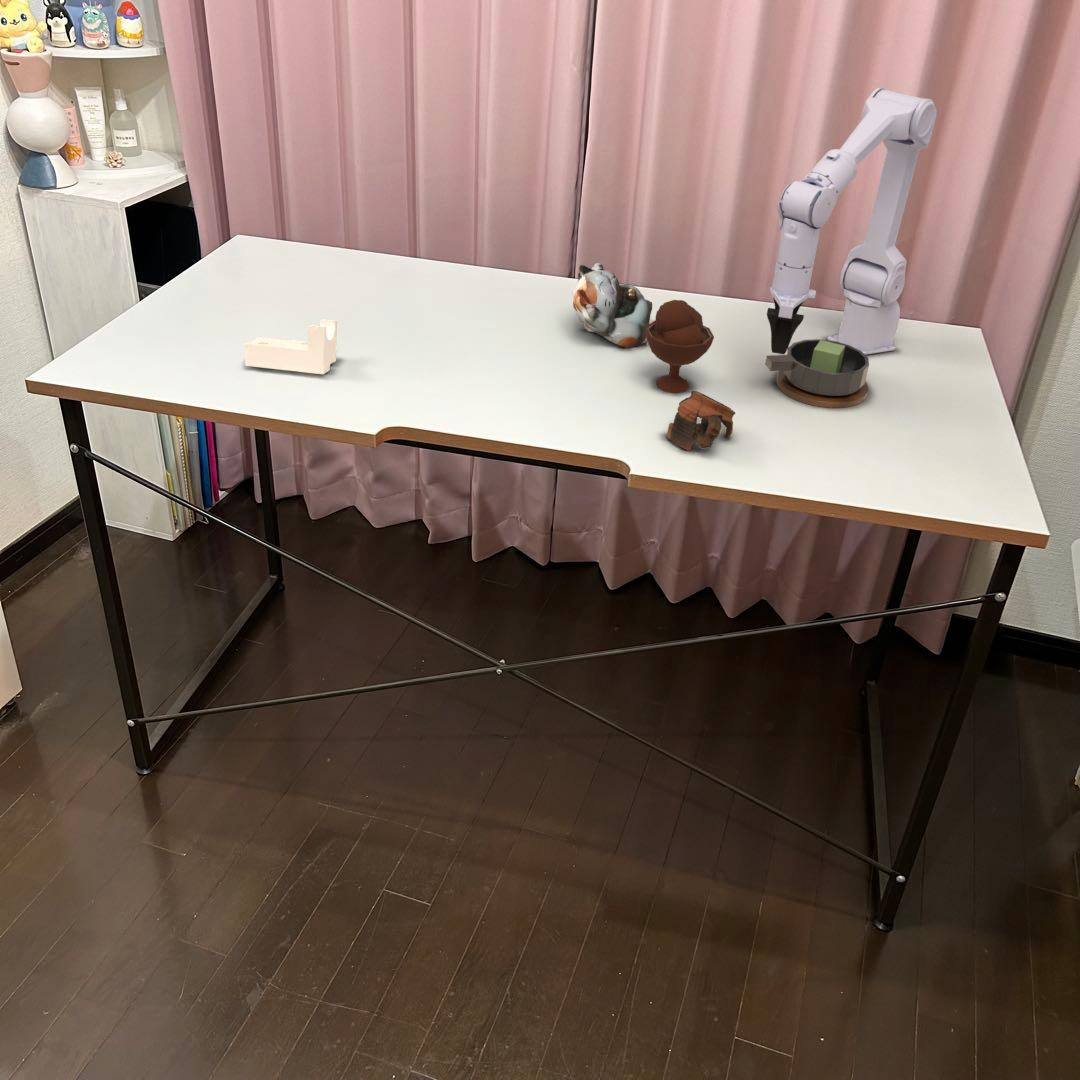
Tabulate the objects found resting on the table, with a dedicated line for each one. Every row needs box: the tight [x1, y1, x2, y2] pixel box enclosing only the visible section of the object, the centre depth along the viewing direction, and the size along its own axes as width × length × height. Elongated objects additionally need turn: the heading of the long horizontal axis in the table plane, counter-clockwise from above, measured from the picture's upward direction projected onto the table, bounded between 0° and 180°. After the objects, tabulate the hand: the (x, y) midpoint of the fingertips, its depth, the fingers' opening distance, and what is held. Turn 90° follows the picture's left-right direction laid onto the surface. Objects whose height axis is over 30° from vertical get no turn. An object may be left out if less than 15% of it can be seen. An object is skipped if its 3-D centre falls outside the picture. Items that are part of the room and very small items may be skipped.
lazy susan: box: [776, 371, 869, 409], centre depth 190 cm, size 15×15×1 cm
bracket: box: [244, 318, 338, 375], centre depth 185 cm, size 13×7×8 cm, turn 82°
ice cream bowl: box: [645, 299, 715, 394], centre depth 183 cm, size 11×11×15 cm
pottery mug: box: [666, 390, 736, 452], centre depth 171 cm, size 12×10×8 cm
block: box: [810, 339, 845, 373], centre depth 187 cm, size 4×4×5 cm
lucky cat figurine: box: [571, 262, 653, 349], centre depth 200 cm, size 15×12×14 cm
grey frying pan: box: [764, 338, 870, 396], centre depth 188 cm, size 17×13×4 cm
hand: (780, 343), depth 183 cm, fingers open, 7 cm apart
